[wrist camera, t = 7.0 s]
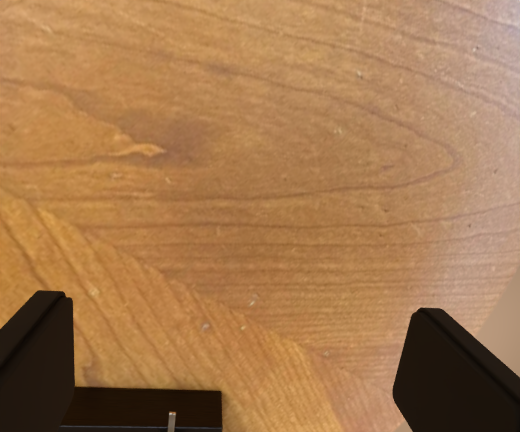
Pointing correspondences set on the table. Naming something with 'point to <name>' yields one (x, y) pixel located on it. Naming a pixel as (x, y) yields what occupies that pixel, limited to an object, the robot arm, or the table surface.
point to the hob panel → (143, 411)
